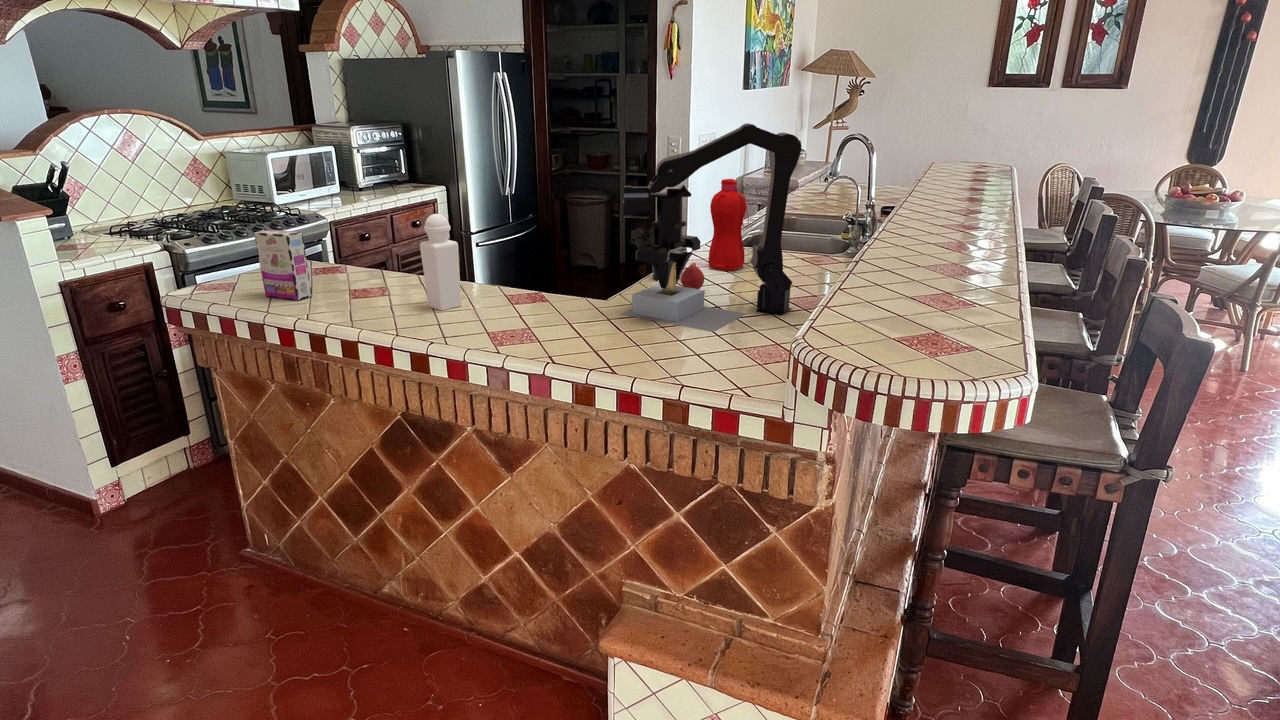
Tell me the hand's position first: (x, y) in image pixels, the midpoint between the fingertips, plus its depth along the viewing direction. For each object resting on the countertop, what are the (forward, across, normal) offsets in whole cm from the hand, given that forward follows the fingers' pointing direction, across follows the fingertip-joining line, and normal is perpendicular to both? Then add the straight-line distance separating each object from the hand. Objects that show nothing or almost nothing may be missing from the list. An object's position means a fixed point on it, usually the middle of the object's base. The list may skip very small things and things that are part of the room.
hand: (668, 285), depth 169 cm
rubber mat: (+6, 0, +4) cm, 8 cm away
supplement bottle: (+7, -28, -18) cm, 34 cm away
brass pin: (+4, 0, 0) cm, 4 cm away
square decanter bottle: (+7, +24, -48) cm, 54 cm away
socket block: (+6, 0, 0) cm, 6 cm away
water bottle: (+7, -48, -9) cm, 49 cm away
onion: (+7, -18, -4) cm, 20 cm away
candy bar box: (+7, +39, -88) cm, 97 cm away
